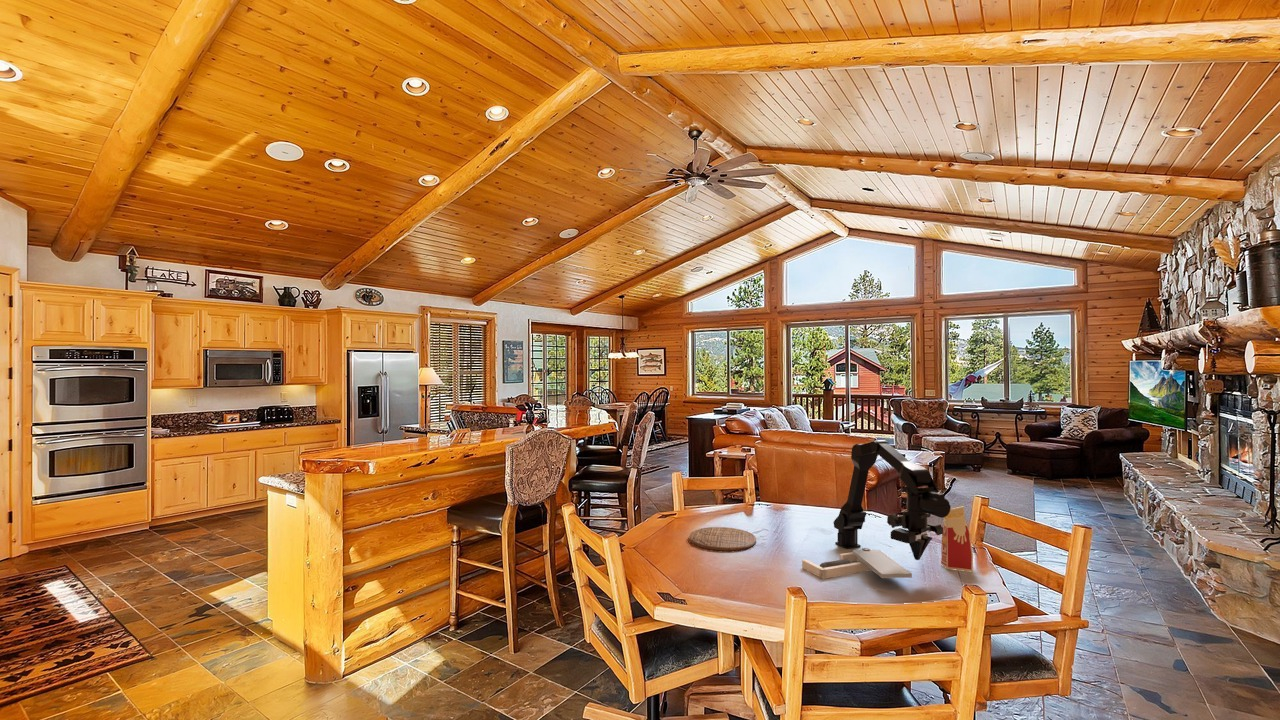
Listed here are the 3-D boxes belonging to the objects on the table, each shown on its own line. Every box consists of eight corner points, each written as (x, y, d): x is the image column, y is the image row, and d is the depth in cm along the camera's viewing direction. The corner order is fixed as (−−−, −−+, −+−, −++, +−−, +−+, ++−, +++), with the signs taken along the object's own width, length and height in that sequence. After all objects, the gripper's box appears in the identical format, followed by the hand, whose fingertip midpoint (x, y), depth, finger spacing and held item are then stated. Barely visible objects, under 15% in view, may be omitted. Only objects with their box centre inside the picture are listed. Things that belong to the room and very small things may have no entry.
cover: (851, 552, 192) (851, 548, 192) (877, 552, 193) (877, 547, 193) (881, 578, 170) (881, 573, 170) (911, 577, 170) (911, 572, 170)
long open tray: (857, 558, 196) (857, 549, 196) (879, 568, 187) (879, 558, 187) (802, 567, 188) (802, 558, 188) (822, 578, 178) (822, 568, 178)
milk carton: (968, 563, 192) (968, 503, 192) (974, 572, 183) (974, 510, 183) (937, 560, 195) (937, 501, 195) (942, 569, 186) (942, 507, 186)
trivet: (755, 555, 201) (755, 549, 201) (684, 550, 207) (684, 544, 207) (756, 534, 226) (756, 529, 226) (693, 530, 231) (693, 525, 231)
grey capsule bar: (848, 569, 188) (845, 558, 189) (854, 568, 186) (852, 558, 187) (818, 574, 184) (816, 563, 185) (824, 573, 181) (822, 562, 182)
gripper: (911, 499, 189) (911, 547, 189) (875, 507, 179) (875, 557, 179) (944, 507, 180) (944, 557, 180) (908, 515, 170) (908, 568, 170)
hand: (917, 559), depth 177 cm, fingers closed
